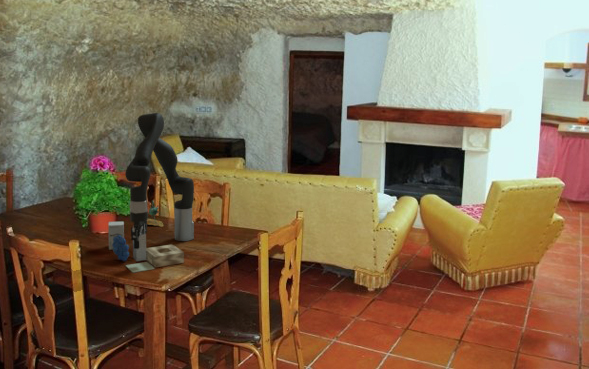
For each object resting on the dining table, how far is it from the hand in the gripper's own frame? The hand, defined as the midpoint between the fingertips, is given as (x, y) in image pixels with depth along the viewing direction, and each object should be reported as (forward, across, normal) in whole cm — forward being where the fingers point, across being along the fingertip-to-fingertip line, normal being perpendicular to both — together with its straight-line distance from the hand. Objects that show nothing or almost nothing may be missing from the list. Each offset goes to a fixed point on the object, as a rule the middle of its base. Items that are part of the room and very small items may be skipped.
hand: (139, 246), depth 264 cm
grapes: (+10, -7, -13) cm, 18 cm away
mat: (+10, 0, 0) cm, 10 cm away
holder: (+10, -11, +8) cm, 17 cm away
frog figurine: (+11, -72, -20) cm, 76 cm away
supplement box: (+10, -26, -22) cm, 36 cm away
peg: (+6, 0, 0) cm, 6 cm away
